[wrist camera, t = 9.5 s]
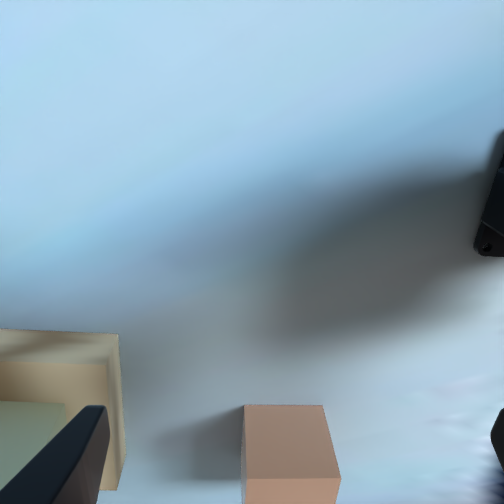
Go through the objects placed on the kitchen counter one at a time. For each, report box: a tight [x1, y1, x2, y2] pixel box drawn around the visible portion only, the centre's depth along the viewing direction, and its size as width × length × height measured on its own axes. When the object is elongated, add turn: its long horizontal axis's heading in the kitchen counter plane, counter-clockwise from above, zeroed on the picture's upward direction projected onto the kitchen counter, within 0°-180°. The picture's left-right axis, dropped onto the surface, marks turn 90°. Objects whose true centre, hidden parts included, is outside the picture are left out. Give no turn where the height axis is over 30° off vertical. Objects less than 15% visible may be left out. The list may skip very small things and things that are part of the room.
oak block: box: [0, 329, 126, 490], centre depth 23 cm, size 10×10×3 cm
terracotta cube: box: [241, 405, 341, 504], centre depth 24 cm, size 5×5×5 cm
